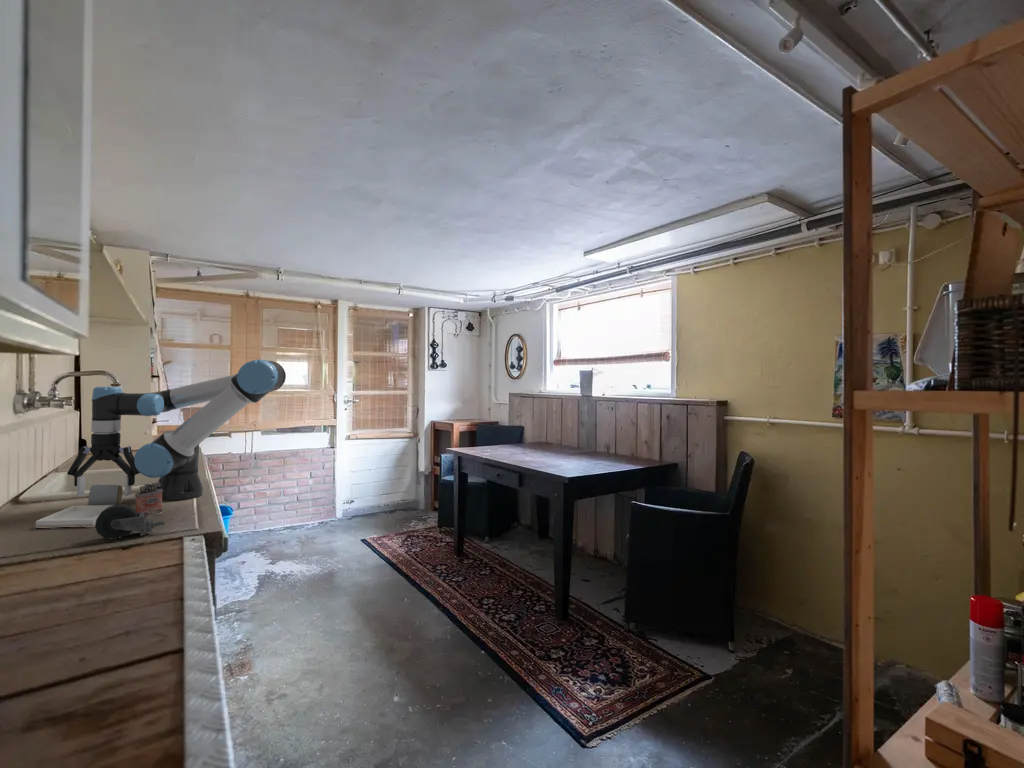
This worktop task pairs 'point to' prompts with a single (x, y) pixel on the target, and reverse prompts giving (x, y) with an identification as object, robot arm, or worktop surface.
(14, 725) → the worktop surface
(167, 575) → the worktop surface
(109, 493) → the grey piece
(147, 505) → the red mechanical device
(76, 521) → the trough tray
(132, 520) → the caster wheel
